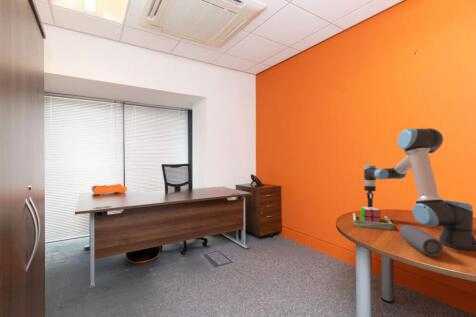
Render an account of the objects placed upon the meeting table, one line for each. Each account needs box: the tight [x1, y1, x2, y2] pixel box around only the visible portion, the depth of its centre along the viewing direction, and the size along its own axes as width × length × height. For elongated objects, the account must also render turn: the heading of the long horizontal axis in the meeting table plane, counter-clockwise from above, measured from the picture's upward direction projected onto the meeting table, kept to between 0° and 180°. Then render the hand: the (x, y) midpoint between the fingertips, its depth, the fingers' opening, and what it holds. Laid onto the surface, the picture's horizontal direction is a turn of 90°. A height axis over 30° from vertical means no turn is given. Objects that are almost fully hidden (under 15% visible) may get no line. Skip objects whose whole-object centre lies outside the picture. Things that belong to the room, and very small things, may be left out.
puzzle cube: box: [360, 206, 381, 222], centre depth 168 cm, size 10×10×10 cm
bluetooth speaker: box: [398, 224, 444, 257], centre depth 118 cm, size 23×9×10 cm, turn 168°
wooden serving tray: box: [352, 212, 395, 231], centre depth 167 cm, size 30×23×4 cm
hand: (370, 216), depth 176 cm, fingers closed
